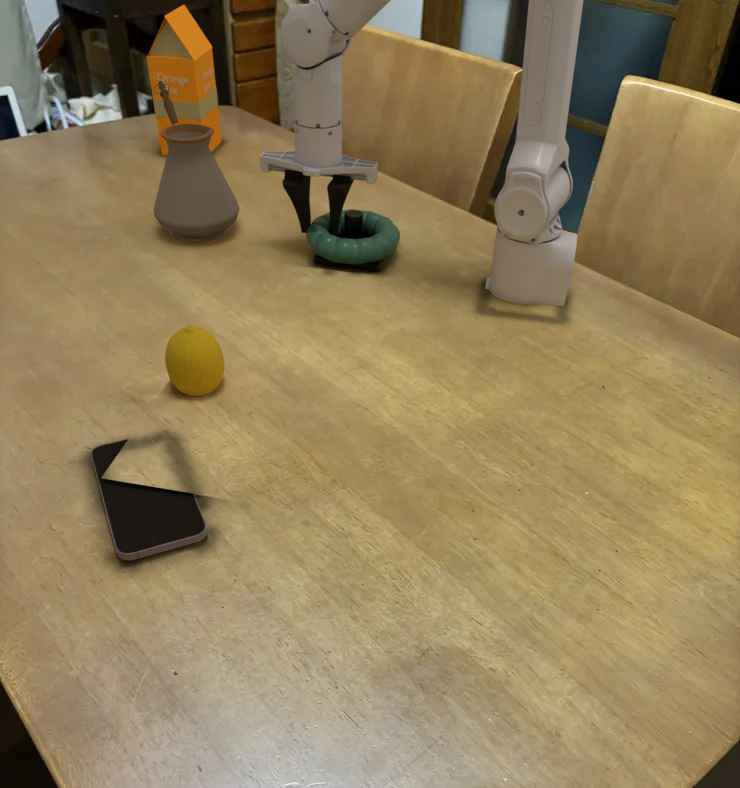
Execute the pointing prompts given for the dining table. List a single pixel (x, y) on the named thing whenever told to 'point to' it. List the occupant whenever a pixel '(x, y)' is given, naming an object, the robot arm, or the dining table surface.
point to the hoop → (354, 249)
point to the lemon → (194, 361)
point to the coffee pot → (192, 182)
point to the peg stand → (351, 231)
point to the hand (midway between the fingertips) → (319, 231)
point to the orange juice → (184, 75)
